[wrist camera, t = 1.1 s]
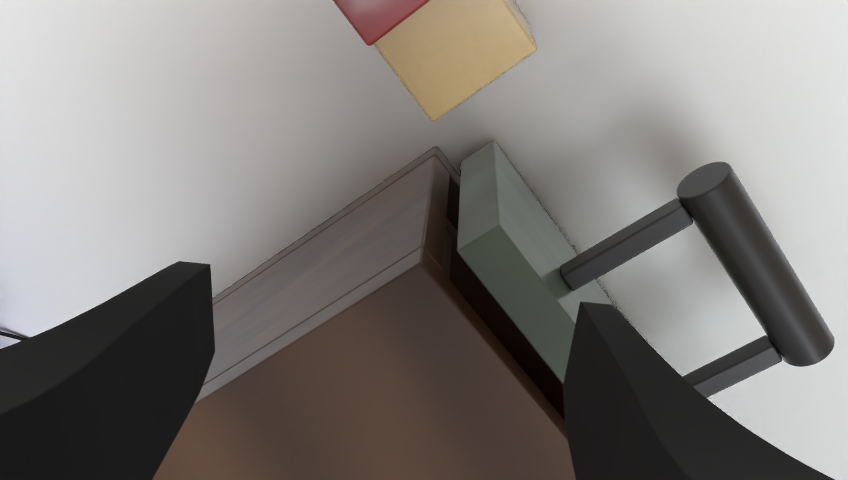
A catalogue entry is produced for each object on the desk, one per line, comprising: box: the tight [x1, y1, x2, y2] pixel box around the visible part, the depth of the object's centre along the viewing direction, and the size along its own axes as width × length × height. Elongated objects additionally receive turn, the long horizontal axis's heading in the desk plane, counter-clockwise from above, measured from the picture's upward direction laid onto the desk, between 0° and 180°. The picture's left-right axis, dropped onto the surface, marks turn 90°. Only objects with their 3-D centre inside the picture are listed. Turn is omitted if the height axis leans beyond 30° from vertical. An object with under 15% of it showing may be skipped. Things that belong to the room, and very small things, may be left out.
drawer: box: [442, 140, 834, 420], centre depth 22 cm, size 17×11×6 cm, turn 127°
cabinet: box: [152, 147, 576, 480], centre depth 24 cm, size 14×13×8 cm
